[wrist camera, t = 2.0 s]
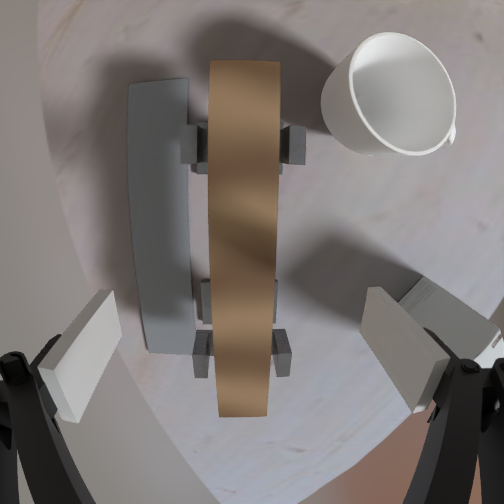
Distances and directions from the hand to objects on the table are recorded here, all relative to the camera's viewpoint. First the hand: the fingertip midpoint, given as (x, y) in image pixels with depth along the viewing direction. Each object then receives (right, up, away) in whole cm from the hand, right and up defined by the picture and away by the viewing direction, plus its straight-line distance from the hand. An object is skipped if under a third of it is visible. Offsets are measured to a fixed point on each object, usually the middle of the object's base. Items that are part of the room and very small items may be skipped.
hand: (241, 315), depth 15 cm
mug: (+11, +17, +12) cm, 24 cm away
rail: (0, +3, +8) cm, 8 cm away
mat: (-9, +5, +15) cm, 18 cm away
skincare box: (+21, -4, +20) cm, 29 cm away
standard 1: (-1, +13, +13) cm, 18 cm away
